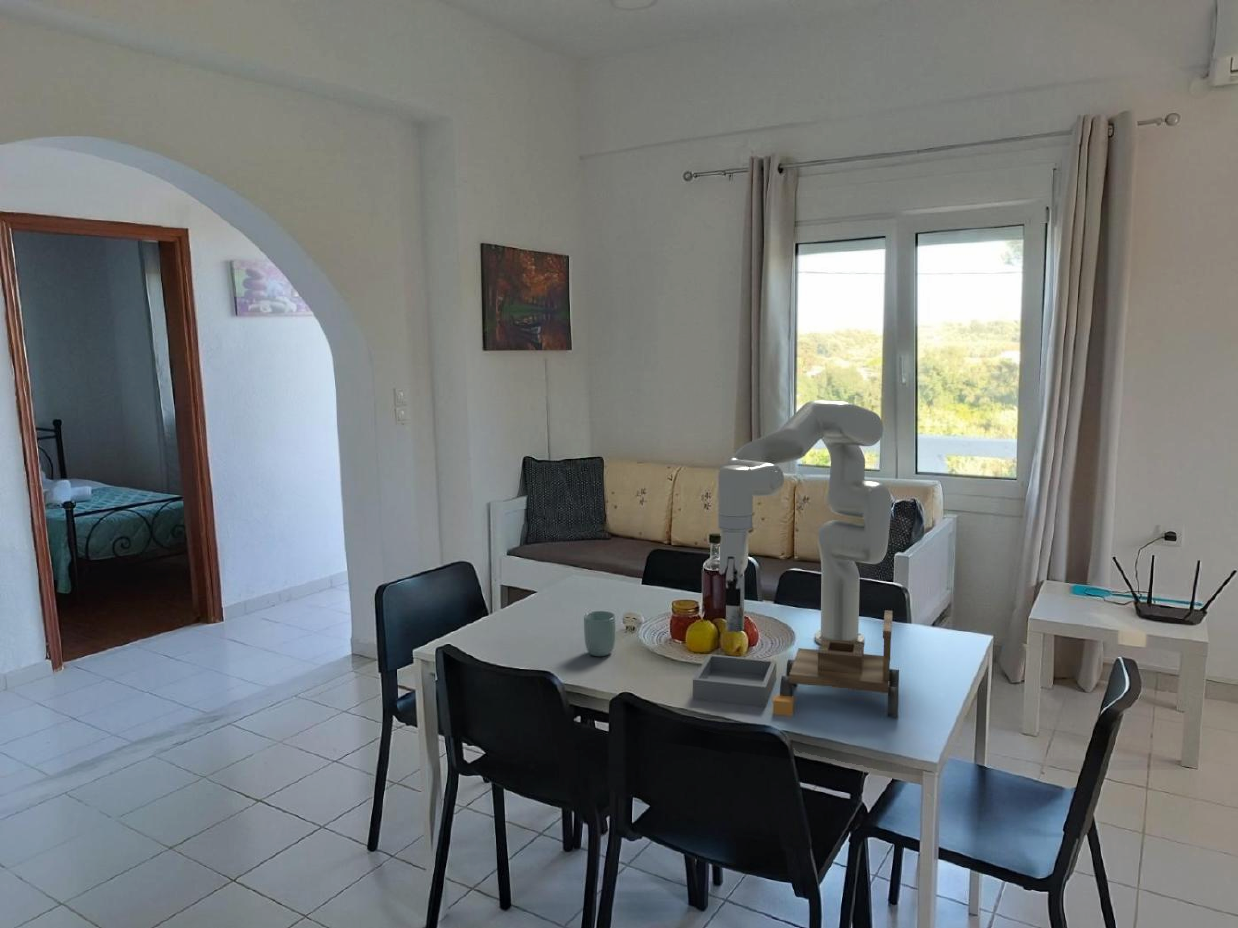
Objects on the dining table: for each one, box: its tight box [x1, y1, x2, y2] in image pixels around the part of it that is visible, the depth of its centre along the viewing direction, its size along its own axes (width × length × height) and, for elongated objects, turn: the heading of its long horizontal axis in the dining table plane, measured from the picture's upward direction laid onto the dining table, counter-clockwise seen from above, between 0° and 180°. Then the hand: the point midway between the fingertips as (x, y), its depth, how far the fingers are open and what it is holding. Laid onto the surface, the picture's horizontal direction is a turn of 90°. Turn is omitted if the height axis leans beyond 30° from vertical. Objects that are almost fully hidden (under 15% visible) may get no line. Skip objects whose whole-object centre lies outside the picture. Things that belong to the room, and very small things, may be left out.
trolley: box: [779, 610, 900, 718], centre depth 190 cm, size 16×24×19 cm, turn 72°
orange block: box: [772, 694, 795, 717], centre depth 186 cm, size 3×4×3 cm
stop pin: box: [725, 575, 745, 633], centre depth 195 cm, size 4×4×12 cm
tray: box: [692, 653, 777, 708], centre depth 198 cm, size 16×16×4 cm
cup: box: [583, 610, 617, 657], centre depth 221 cm, size 8×8×10 cm
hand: (735, 601), depth 195 cm, fingers closed on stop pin, 4 cm apart
